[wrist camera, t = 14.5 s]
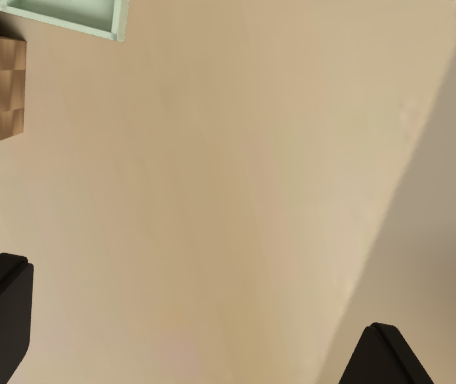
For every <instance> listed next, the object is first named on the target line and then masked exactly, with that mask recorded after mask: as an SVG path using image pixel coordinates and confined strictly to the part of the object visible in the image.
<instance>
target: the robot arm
mask: <svg viewBox="0 0 456 384" xmlns="http://www.w3.org/2000/svg"><path fill="white" fill-rule="evenodd" d="M33 272H34V266H33V264H30V263H28V259H27V258H26V257H24V256H19V255H13V254H8V253H1V254H0V384H7V382H8V381H9V379H10V378H11V376H12V375H13V373H14V372H15V370H16V369H17V367H18V366H19V364H20V363H21V361H22V359H23V358H24V356H25V354H26V352H27V350H28V347H29V342H30V326H31V308H32V290H33ZM339 384H434V383H433V381H432V380H431V378H430V377H429V375H428V374H427V372H426V371H425V369H424V368H423V366H422V365H421V363H420V362H419V360H418V359H417V357H416V356H415V354H414V353H413V351H412V350H411V348H410V347H409V345H408V344H407V342H406V341H405V339H404V338H403V336H402V335H401V333H400V332H399V330H398V329H397V328H396V327H395V326H393V325H387V324H382V323H377V322H375V323H372V324H371V325H370V326H367V327H366V328H365V329H364V331H363V333H362V335H361V338H360V339H359V342H358V344H357V346H356V348H355V350H354V352H353V354H352V356H351V359H350V361H349V363H348V365H347V367H346V369H345V371H344V373H343V375H342V377H341V380H340V382H339Z"/></svg>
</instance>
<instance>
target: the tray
mask: <svg viewBox="0 0 456 384" xmlns="http://www.w3.org/2000/svg"><path fill="white" fill-rule="evenodd" d="M129 1H130V0H0V11H3V12H7V13H11V14H14V15H18V16H22V17H26V18H30V19H34V20H38V21H42V22H45V23H49V24H53V25H57V26H61V27H65V28H69V29H73V30H77V31H80V32H84V33H88V34H92V35H96V36H100V37H104V38H108V39H111V40H115V41H120V42H124V40H125V32H126V25H127V17H128V9H129Z"/></svg>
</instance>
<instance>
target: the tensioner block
mask: <svg viewBox="0 0 456 384" xmlns="http://www.w3.org/2000/svg"><path fill="white" fill-rule="evenodd" d="M26 44H27V42H26V41H22V40H18V39H14V38H10V37H6V36H2V35H0V140H3V139H6V138H8V137H11V136H14V135H17V134H19V133H22V132H23V123H24V97H25V71H26Z"/></svg>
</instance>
